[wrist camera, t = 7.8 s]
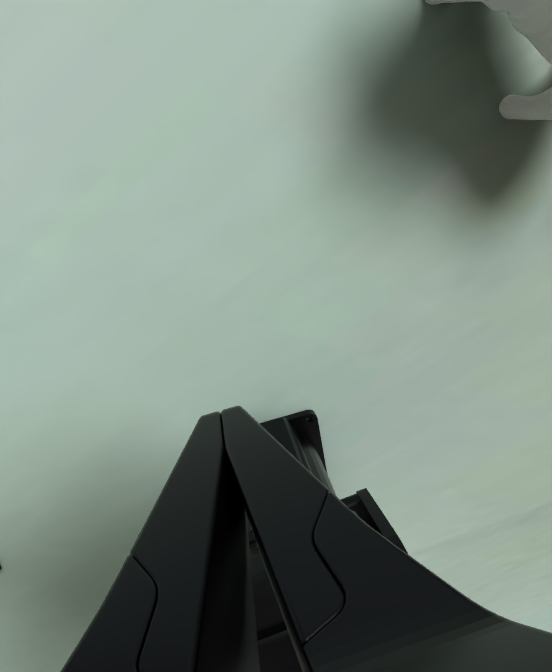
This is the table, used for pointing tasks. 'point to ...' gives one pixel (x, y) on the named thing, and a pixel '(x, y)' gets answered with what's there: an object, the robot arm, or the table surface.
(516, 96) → the dog figurine
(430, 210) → the table surface
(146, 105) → the table surface
